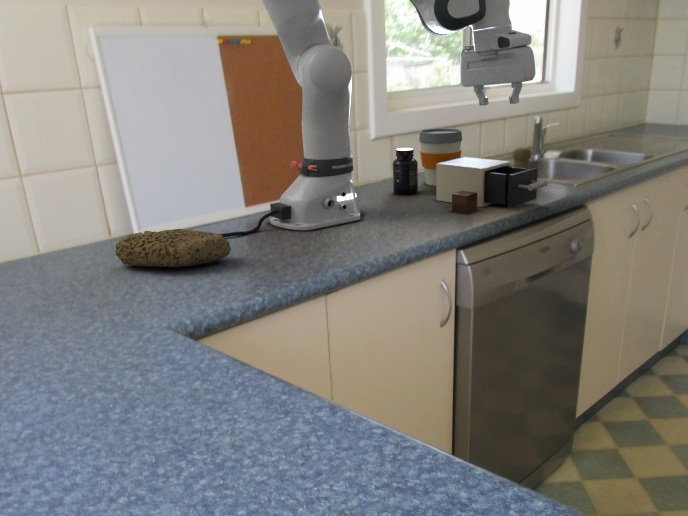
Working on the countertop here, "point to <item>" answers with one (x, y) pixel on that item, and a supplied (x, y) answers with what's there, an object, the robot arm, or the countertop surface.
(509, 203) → the drawer
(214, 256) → the sponge
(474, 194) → the block
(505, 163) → the cabinet
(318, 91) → the robot arm
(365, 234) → the countertop surface
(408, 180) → the supplement bottle
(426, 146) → the reusable coffee cup
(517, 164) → the cork
